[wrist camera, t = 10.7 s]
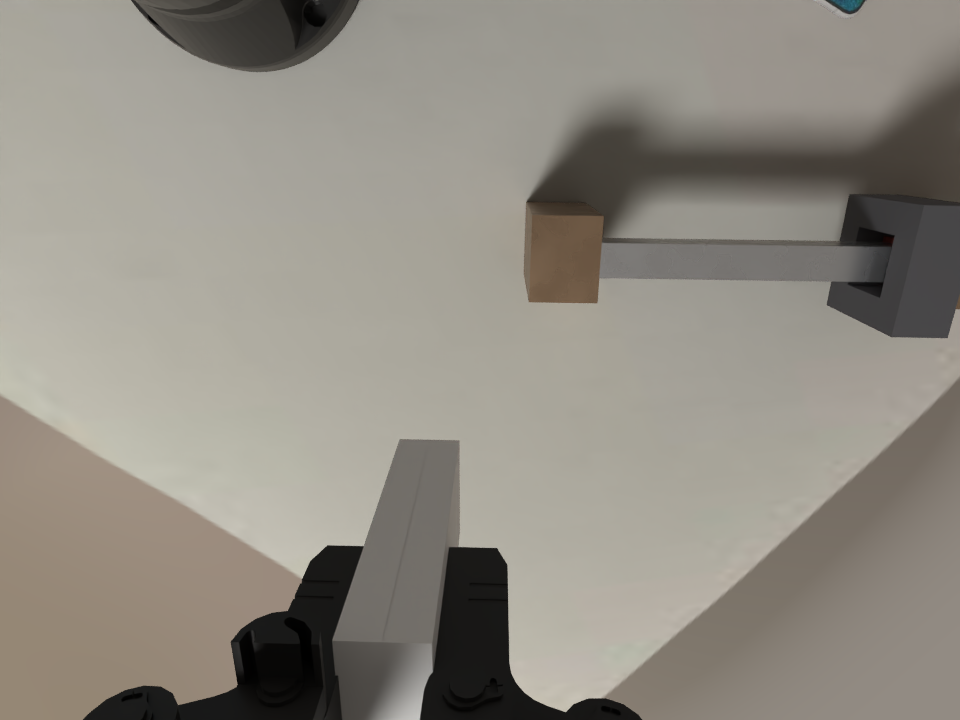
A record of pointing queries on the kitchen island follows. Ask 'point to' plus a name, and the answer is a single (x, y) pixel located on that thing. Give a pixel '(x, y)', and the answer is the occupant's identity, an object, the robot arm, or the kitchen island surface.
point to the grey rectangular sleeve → (904, 265)
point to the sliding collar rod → (674, 256)
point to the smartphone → (843, 7)
